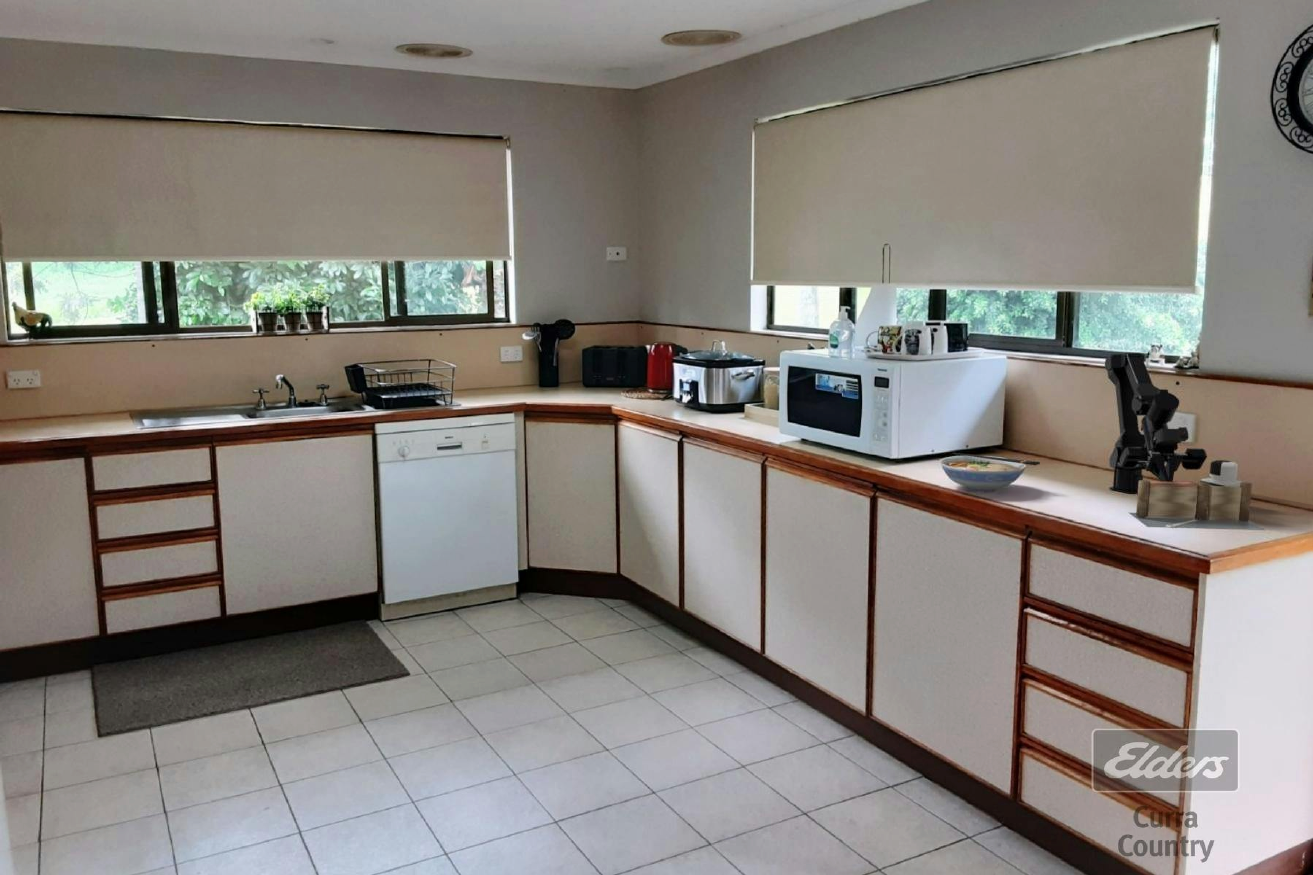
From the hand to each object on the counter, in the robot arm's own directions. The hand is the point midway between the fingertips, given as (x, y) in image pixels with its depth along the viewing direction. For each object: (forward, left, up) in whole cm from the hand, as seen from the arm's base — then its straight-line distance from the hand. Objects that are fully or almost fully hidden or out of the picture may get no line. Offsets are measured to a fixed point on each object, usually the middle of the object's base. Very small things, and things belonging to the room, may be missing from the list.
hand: (1169, 486), depth 248 cm
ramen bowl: (-46, -13, -8) cm, 49 cm away
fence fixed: (+9, +8, -7) cm, 14 cm away
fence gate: (+1, -2, -7) cm, 7 cm away
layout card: (+6, +2, -8) cm, 10 cm away
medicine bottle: (+1, +21, -8) cm, 23 cm away
